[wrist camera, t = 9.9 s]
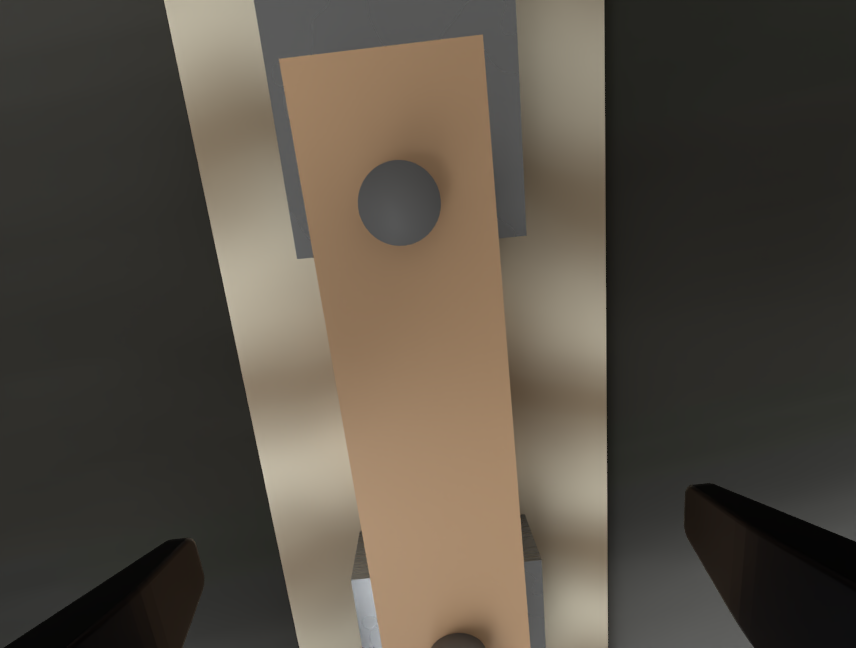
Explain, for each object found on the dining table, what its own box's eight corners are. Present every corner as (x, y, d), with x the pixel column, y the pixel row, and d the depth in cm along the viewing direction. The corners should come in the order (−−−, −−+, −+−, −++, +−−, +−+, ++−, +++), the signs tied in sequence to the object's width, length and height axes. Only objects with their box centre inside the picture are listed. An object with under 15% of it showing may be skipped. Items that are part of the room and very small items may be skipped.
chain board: (598, 708, 19) (608, 734, 18) (328, 737, 19) (323, 764, 18) (587, -188, 12) (602, -224, 11) (150, -144, 12) (126, -177, 11)
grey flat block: (509, 233, 14) (527, 235, 11) (315, 253, 14) (296, 259, 11) (487, -163, 11) (504, -258, 9) (254, -140, 11) (213, -230, 9)
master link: (509, 615, 16) (544, 764, 12) (403, 628, 16) (398, 781, 12) (462, 90, 12) (489, 15, 8) (320, 107, 12) (265, 42, 8)
